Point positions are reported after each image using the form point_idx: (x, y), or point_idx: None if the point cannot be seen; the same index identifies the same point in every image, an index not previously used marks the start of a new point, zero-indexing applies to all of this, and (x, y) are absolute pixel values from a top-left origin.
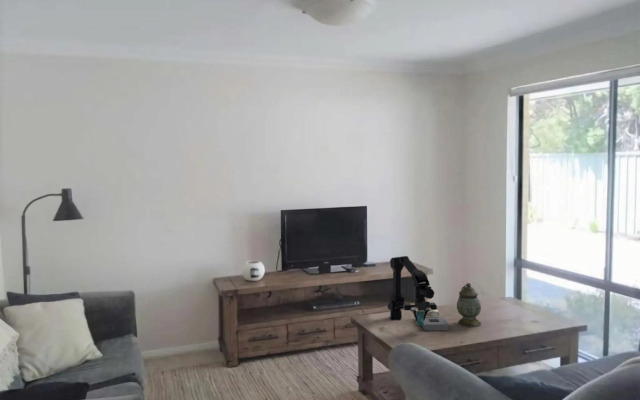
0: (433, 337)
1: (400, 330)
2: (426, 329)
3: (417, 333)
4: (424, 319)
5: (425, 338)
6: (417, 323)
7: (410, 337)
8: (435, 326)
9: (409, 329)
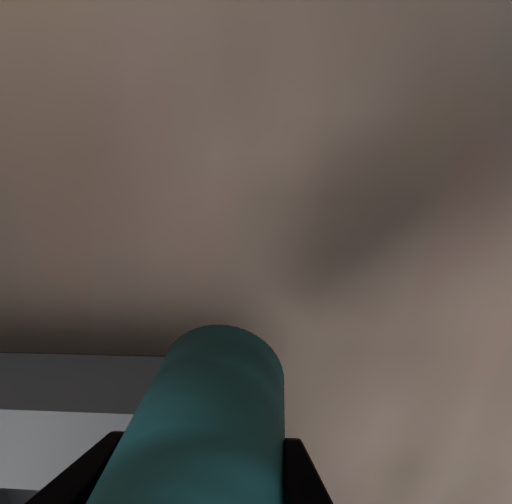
0: (70, 88)
1: (485, 378)
2: (147, 363)
3: (282, 262)
4: (87, 454)
5: (194, 40)
6: (272, 381)
7: (428, 93)
8: (9, 387)
9: (356, 400)
